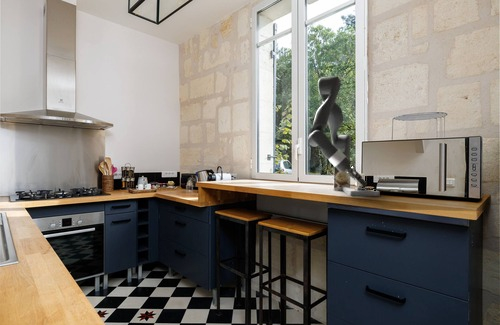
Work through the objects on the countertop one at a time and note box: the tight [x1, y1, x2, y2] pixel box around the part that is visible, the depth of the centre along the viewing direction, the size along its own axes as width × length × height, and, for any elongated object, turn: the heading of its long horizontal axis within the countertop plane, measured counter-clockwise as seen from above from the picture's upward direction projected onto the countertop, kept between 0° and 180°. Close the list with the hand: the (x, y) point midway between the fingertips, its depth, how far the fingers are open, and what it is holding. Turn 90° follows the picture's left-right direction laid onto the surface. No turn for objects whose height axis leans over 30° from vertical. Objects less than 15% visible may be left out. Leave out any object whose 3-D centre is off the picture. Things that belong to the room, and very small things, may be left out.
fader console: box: [342, 187, 380, 197], centre depth 142 cm, size 21×13×2 cm, turn 171°
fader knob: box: [354, 173, 367, 190], centre depth 140 cm, size 4×4×8 cm
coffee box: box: [333, 165, 351, 191], centre depth 160 cm, size 9×6×16 cm
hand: (364, 184), depth 140 cm, fingers closed on fader knob, 3 cm apart
